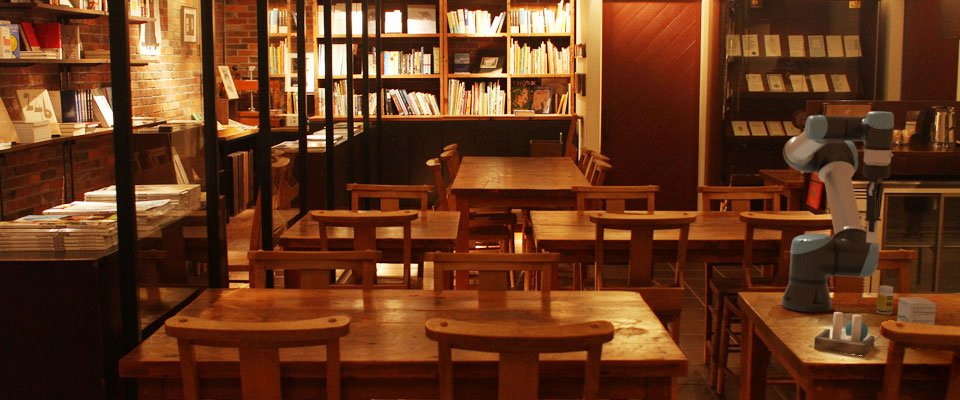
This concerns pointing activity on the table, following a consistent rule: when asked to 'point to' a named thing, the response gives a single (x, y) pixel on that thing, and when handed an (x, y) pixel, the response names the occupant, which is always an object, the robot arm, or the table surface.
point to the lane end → (842, 344)
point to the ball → (863, 330)
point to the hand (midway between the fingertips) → (871, 242)
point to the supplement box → (916, 310)
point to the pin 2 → (856, 328)
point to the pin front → (847, 338)
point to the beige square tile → (861, 340)
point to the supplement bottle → (885, 300)
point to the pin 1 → (837, 325)
